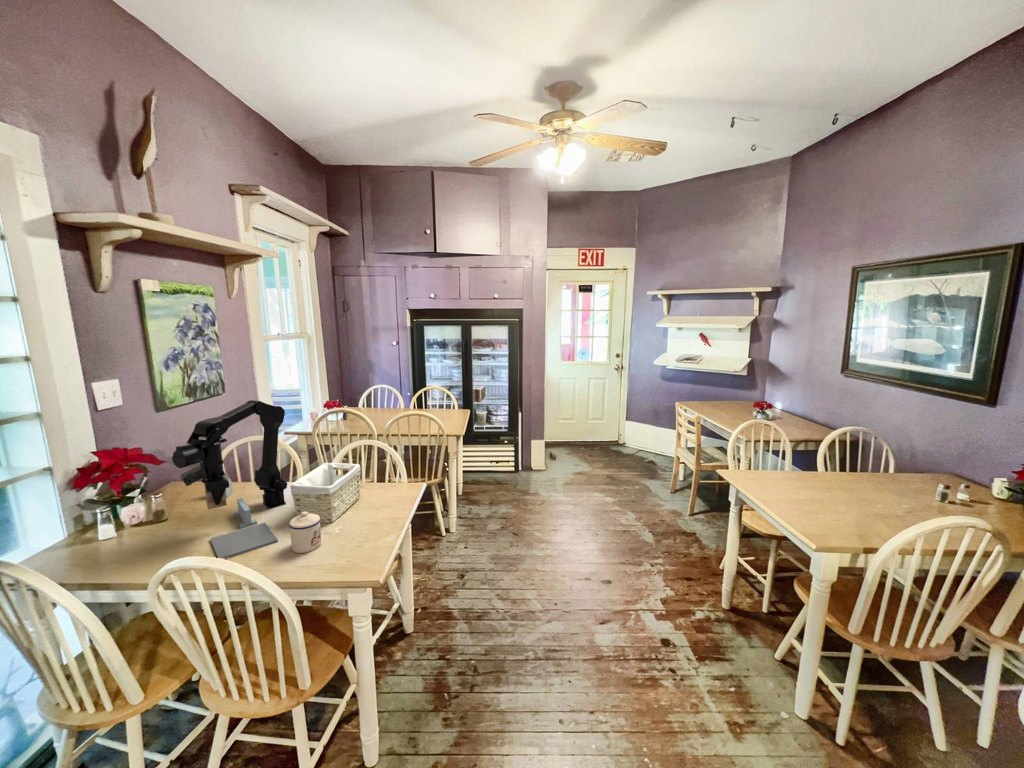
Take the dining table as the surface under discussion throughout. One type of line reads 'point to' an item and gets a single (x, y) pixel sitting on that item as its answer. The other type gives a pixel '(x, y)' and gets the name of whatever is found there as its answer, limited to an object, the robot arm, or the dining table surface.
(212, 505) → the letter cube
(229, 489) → the grey block
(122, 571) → the dining table surface
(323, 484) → the storage basket
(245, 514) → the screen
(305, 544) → the lidded ceramic jar
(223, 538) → the tile
